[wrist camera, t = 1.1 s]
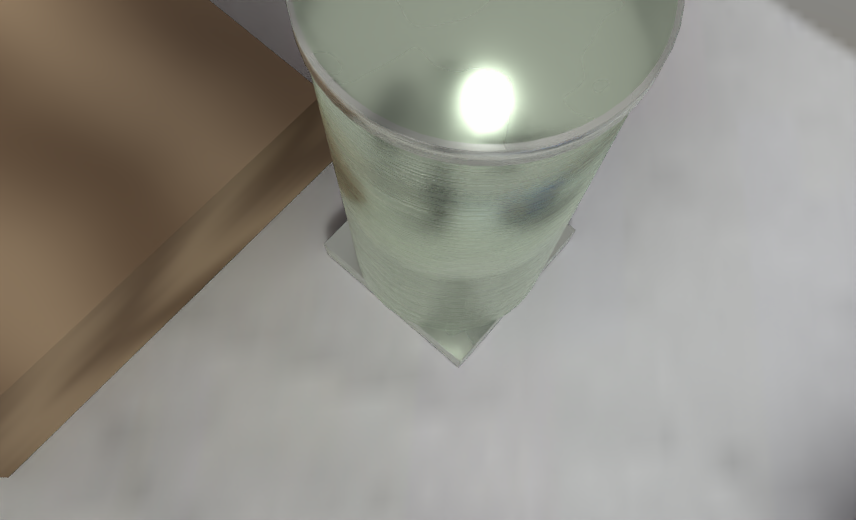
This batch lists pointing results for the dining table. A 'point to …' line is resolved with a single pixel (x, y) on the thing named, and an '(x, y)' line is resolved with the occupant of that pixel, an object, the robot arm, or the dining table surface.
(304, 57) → the green drinking glass
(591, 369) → the dining table surface
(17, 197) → the walnut block
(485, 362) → the dining table surface
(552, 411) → the dining table surface
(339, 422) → the dining table surface
